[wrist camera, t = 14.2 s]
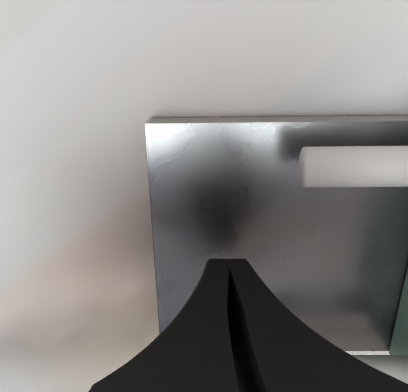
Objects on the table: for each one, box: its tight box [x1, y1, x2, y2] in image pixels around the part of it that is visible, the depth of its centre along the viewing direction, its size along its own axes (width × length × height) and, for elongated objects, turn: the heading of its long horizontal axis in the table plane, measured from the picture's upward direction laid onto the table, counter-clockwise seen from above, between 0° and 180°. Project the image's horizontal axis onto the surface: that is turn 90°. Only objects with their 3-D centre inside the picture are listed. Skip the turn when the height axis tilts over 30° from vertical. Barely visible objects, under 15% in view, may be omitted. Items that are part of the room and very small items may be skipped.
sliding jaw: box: [299, 146, 408, 384], centre depth 12 cm, size 10×7×4 cm
